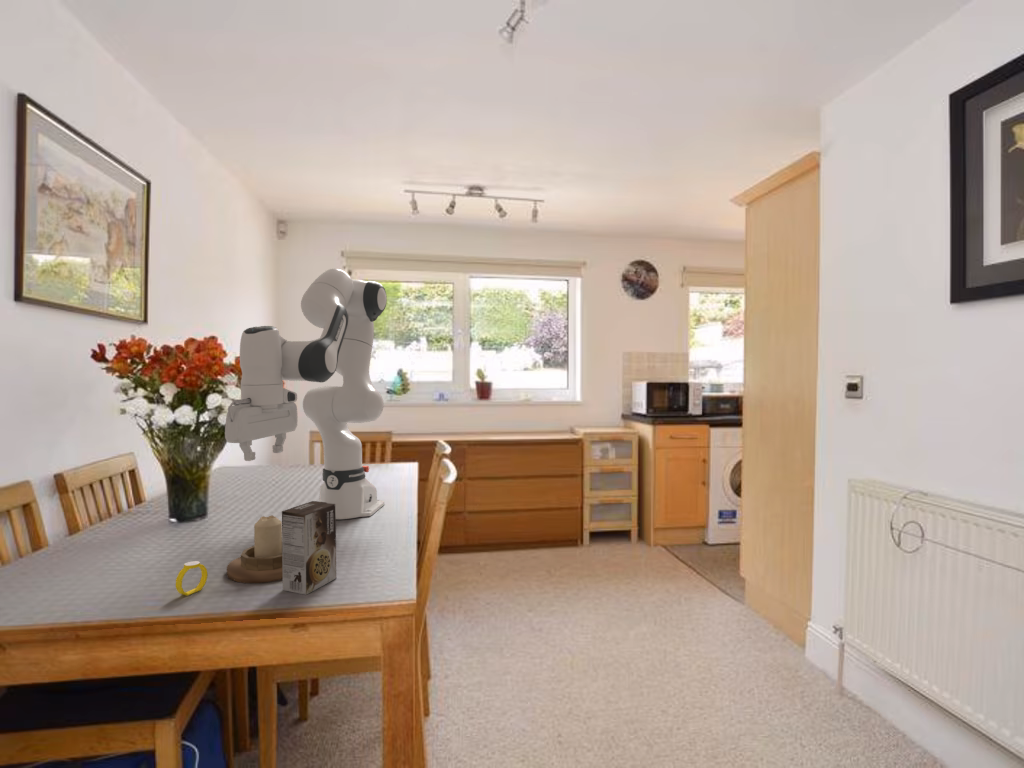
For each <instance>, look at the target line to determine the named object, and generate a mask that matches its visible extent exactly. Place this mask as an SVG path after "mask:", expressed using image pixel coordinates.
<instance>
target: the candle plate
mask: <svg viewBox="0 0 1024 768" xmlns="http://www.w3.org/2000/svg"><path fill="white" fill-rule="evenodd" d="M226 577H227V578H228V579H229V580H230V581H233V582H237V583H241V584H261V583H272V582H278V581H283V564H282V555H279V556H275V557H266V558H255V552H254V545H252V546H250V547H248V548H245V549H243V551H242V552H241V553H240V556H239V557H236V558H235V559H233V560H231V561H230V562H229V563H228V564H227V566H226Z"/></svg>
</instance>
